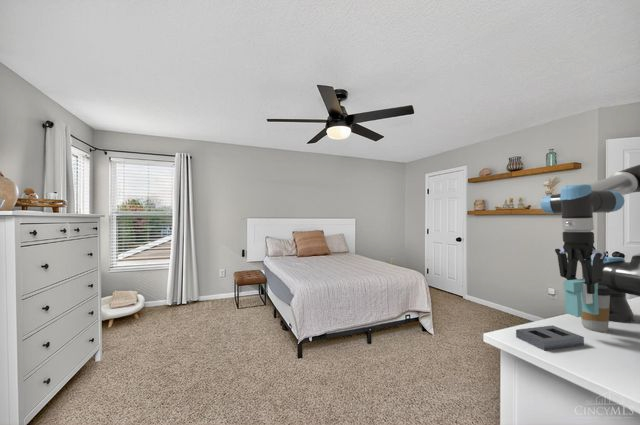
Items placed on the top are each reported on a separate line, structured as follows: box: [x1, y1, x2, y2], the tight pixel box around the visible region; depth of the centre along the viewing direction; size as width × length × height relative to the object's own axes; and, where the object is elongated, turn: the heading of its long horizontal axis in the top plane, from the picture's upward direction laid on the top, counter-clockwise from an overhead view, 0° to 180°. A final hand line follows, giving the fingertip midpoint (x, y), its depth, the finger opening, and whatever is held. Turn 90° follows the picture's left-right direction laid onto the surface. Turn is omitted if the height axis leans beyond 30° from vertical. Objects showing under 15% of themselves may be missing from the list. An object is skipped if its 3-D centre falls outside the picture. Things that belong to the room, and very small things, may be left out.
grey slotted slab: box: [515, 325, 585, 352], centre depth 84 cm, size 15×9×2 cm, turn 101°
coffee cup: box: [580, 285, 611, 333], centre depth 92 cm, size 8×8×15 cm
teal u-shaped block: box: [562, 278, 599, 318], centre depth 87 cm, size 10×4×11 cm, turn 101°
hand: (581, 301), depth 87 cm, fingers closed on teal u-shaped block, 3 cm apart
